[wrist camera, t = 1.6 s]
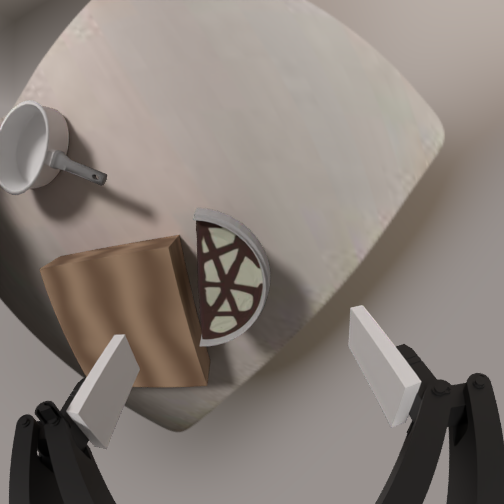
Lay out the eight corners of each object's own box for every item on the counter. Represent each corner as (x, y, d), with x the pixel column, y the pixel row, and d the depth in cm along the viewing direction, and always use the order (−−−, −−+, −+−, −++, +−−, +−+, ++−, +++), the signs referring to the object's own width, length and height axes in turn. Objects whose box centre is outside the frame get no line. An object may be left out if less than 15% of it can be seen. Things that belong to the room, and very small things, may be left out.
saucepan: (111, 223, 29) (88, 234, 24) (12, 177, 26) (-13, 181, 21) (142, 130, 26) (123, 123, 21) (33, 101, 23) (9, 96, 18)
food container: (260, 301, 33) (268, 352, 23) (210, 300, 32) (200, 351, 23) (265, 198, 29) (277, 212, 20) (208, 197, 29) (192, 211, 19)
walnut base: (102, 363, 35) (90, 383, 30) (60, 256, 30) (39, 269, 25) (210, 361, 35) (207, 385, 30) (179, 234, 30) (168, 247, 25)
